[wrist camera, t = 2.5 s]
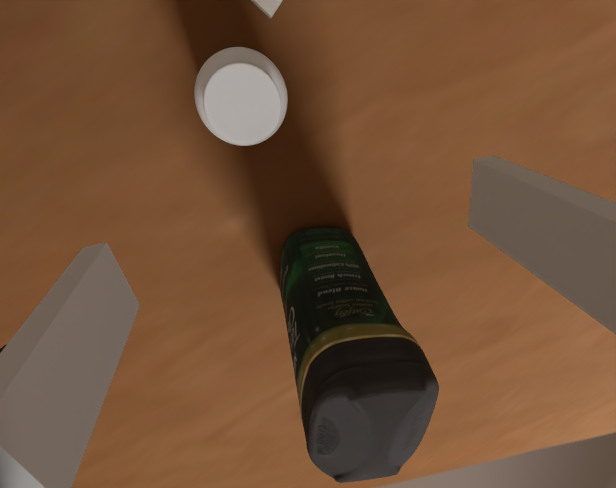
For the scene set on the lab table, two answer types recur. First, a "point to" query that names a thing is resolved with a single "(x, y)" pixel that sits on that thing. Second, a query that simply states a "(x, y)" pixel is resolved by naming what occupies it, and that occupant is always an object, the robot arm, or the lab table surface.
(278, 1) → the socket board
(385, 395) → the coffee jar
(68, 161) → the lab table surface
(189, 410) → the lab table surface
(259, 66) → the supplement bottle
